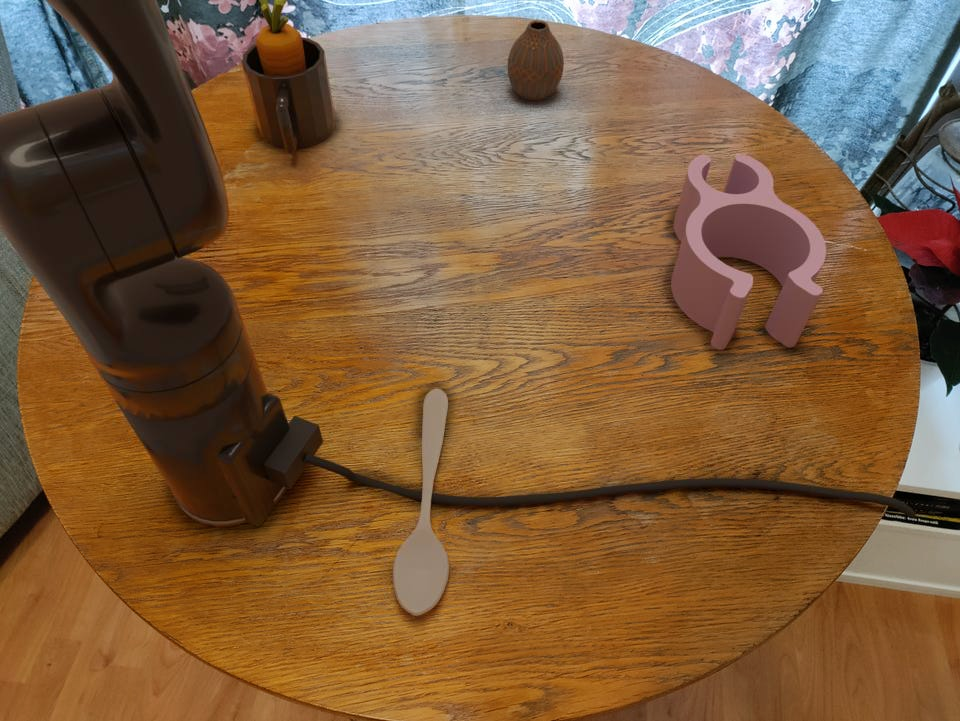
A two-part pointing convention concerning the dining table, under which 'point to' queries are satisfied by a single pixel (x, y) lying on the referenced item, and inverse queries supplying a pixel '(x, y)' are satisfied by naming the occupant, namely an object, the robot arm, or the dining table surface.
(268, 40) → the carrot
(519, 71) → the vase
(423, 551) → the spoon
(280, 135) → the mug
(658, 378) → the dining table surface
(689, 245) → the clip
